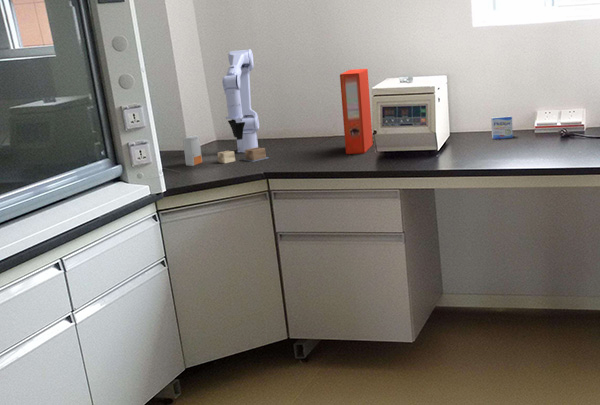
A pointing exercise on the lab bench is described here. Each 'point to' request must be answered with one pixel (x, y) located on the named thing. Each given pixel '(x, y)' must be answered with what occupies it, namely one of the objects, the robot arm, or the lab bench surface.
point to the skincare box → (192, 150)
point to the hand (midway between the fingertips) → (238, 138)
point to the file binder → (356, 111)
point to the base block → (255, 153)
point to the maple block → (226, 156)
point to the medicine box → (502, 127)
